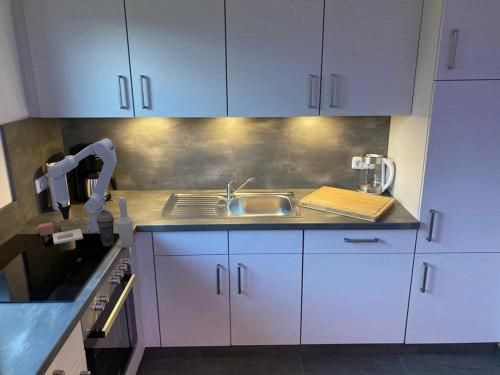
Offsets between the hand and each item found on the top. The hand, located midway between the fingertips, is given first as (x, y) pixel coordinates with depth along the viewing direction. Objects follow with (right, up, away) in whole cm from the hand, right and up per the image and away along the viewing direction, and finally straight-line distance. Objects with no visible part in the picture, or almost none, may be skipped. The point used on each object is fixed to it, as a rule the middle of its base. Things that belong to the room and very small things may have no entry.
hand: (65, 216), depth 195 cm
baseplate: (+4, -9, -7) cm, 12 cm away
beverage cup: (+26, -11, -16) cm, 33 cm away
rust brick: (-8, -8, -2) cm, 11 cm away
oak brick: (0, -6, +2) cm, 7 cm away
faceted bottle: (+35, -11, -18) cm, 41 cm away
